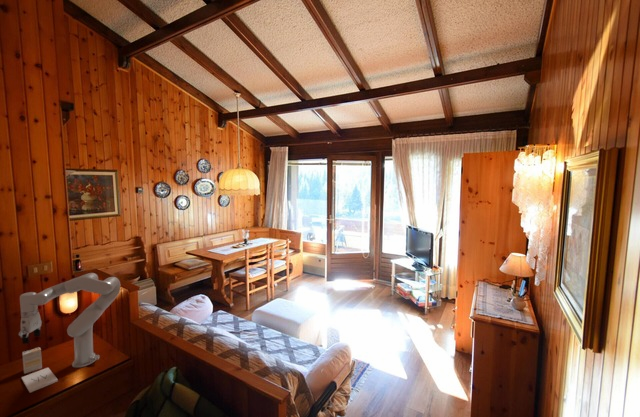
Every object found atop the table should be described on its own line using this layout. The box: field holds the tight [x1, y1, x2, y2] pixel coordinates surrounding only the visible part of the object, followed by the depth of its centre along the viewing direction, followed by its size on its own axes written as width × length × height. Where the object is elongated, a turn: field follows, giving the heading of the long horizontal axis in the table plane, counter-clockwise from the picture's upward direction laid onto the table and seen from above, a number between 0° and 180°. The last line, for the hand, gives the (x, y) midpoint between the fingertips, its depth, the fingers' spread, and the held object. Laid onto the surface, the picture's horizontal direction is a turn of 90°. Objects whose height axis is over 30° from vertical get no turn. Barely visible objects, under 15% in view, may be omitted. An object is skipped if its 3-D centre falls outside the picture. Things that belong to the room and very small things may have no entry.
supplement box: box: [22, 346, 43, 374], centre depth 182 cm, size 8×5×13 cm, turn 137°
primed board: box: [20, 367, 59, 393], centre depth 173 cm, size 20×12×1 cm, turn 55°
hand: (31, 339), depth 181 cm, fingers open, 8 cm apart
